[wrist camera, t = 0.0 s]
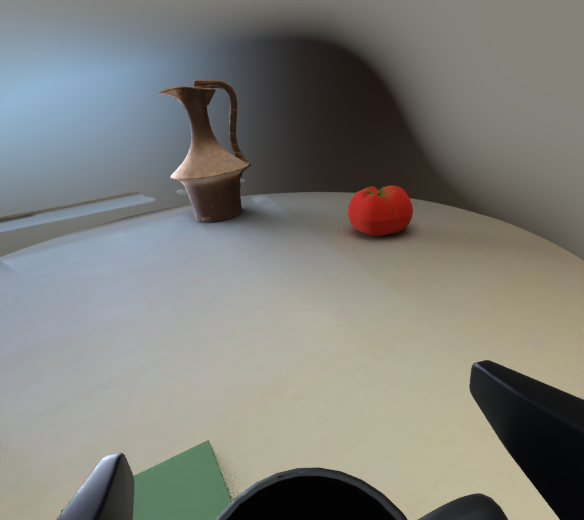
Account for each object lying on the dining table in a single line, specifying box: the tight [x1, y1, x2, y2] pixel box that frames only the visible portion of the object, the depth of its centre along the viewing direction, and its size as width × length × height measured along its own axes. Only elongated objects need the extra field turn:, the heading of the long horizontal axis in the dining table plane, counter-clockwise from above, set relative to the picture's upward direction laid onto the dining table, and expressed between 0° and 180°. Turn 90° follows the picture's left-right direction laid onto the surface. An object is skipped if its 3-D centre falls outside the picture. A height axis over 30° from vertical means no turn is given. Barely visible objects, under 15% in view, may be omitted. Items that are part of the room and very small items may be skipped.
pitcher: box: [158, 80, 251, 222], centre depth 80 cm, size 18×17×28 cm
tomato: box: [348, 186, 413, 236], centre depth 64 cm, size 11×11×8 cm
